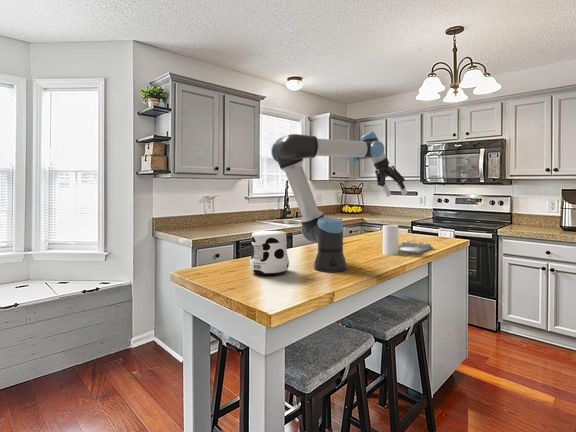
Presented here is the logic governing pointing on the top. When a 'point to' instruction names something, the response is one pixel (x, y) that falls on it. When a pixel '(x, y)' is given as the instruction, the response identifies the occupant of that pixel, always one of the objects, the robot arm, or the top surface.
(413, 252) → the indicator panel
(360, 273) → the top surface
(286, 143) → the robot arm
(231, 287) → the top surface
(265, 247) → the milk container
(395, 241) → the cup
